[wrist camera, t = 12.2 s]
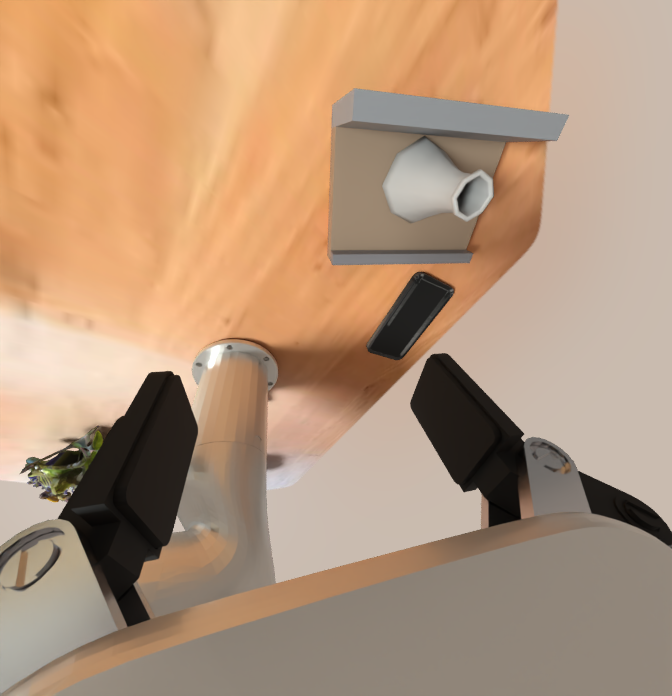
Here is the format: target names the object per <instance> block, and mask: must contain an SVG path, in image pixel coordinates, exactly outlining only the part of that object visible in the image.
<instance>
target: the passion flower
mask: <svg viewBox="0 0 672 696" xmlns="http://www.w3.org/2000/svg"><path fill="white" fill-rule="evenodd" d="M98 427H99V426H97V427H95V428H94V429H92V430H91V431H90V432H89V433H88V434H86V435H85V436H83V437H82V438H81V439H79V440H77V441H74V442H72V443H71V444H70V445H69V446H67V447H66V448H64V449H62V450H60V451H57V452H55V453H53V454H51V455H49V456H47V457H45V458H43V459H38V458H35V457H31V458H28V459H27V460H26V463H27V464H26V465H25V468H24V469H22V471H21V473H24V472H26V471H27V470H31V472H30V473H29V474H28V476H29V477H28V478H30V480H31V481H29V482H27V483H28V484H35V485H33V487H35V486H36V487H38V486H42V489H46V491H45V492H43V493H42V494H41V495H40V496H39V498H40V499H48V500H49V501H52V502H58V501H59V500H61V501H66V502H68V501H69V499H70V497H71V493H70V492H67V491H68V489H69V488H70V489H71V491H72V492H73V490H75V489H76V487H77V485H78V484H79V482H80V480H81V479H82V477H83V475H84V474H85V472H86V470H87V469H88V467H89V465H90V464H91V462H92V460H93V459H94V457H95V455H96V454H97V452H98V450H99V449H100V447H101V445H102V444H103V437H102V435H101V433H100V431H96V432H95V436H94V439H93V442H92V444H91V445H90V446H87V445H88V443H89V442H90V435H91V434H92V433H93V432H94V430H96V429H97V428H98ZM70 448H78V449H79V450H78V451H70V450H67V449H70ZM84 448H87V449H88V450H89V452H88V451H87V450H84ZM58 453H59V454H58ZM56 454H58V455H57V456H56V457H54V458H53V459H51V460H48V461H43V460H45V459H48V458H50V457H52V456H54V455H56ZM21 473H20V474H21ZM63 494H64V495H63ZM65 494H67V495H65Z"/></svg>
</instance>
